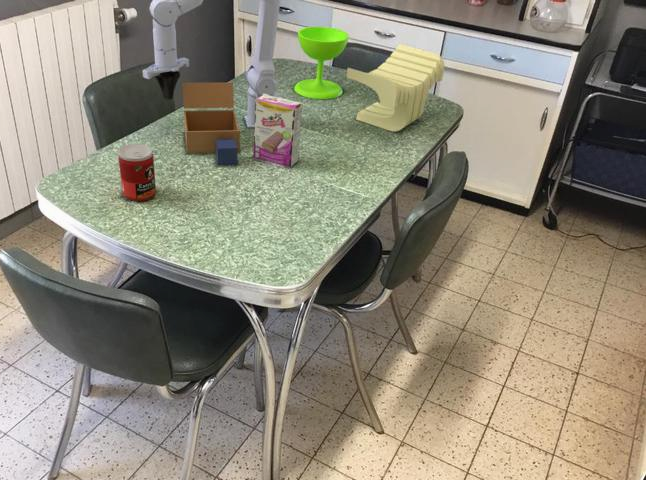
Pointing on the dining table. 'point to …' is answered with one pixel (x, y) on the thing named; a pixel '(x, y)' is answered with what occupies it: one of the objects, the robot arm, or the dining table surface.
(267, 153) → the candy bar box
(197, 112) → the carton
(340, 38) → the wineglass
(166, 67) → the robot arm
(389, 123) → the slatted curved stool
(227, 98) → the flap
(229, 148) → the cube
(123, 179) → the canned food
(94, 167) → the dining table surface
